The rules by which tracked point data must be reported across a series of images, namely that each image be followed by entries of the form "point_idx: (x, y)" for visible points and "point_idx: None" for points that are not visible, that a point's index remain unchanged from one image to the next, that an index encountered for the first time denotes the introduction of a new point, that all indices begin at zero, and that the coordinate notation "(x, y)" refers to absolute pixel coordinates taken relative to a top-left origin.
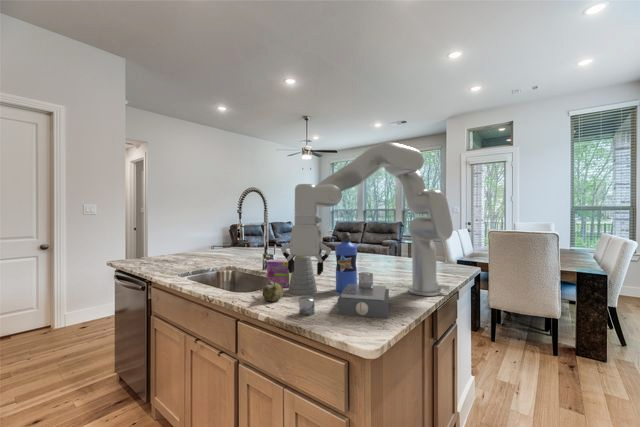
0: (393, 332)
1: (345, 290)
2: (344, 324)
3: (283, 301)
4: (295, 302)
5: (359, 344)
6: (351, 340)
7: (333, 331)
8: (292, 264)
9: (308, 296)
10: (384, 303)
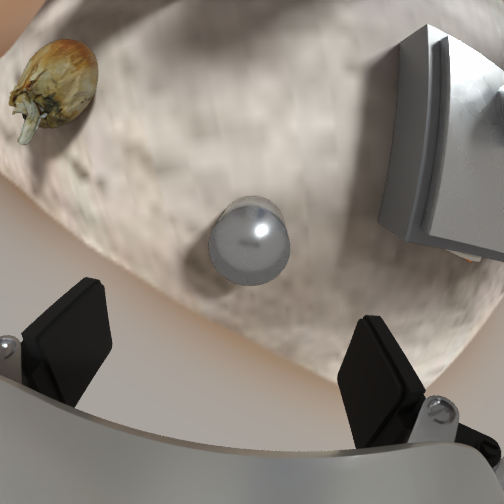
0: (471, 334)
1: (451, 162)
2: (387, 312)
3: (116, 89)
4: (169, 87)
5: None
6: None
7: None
8: (75, 364)
9: (250, 209)
10: None
